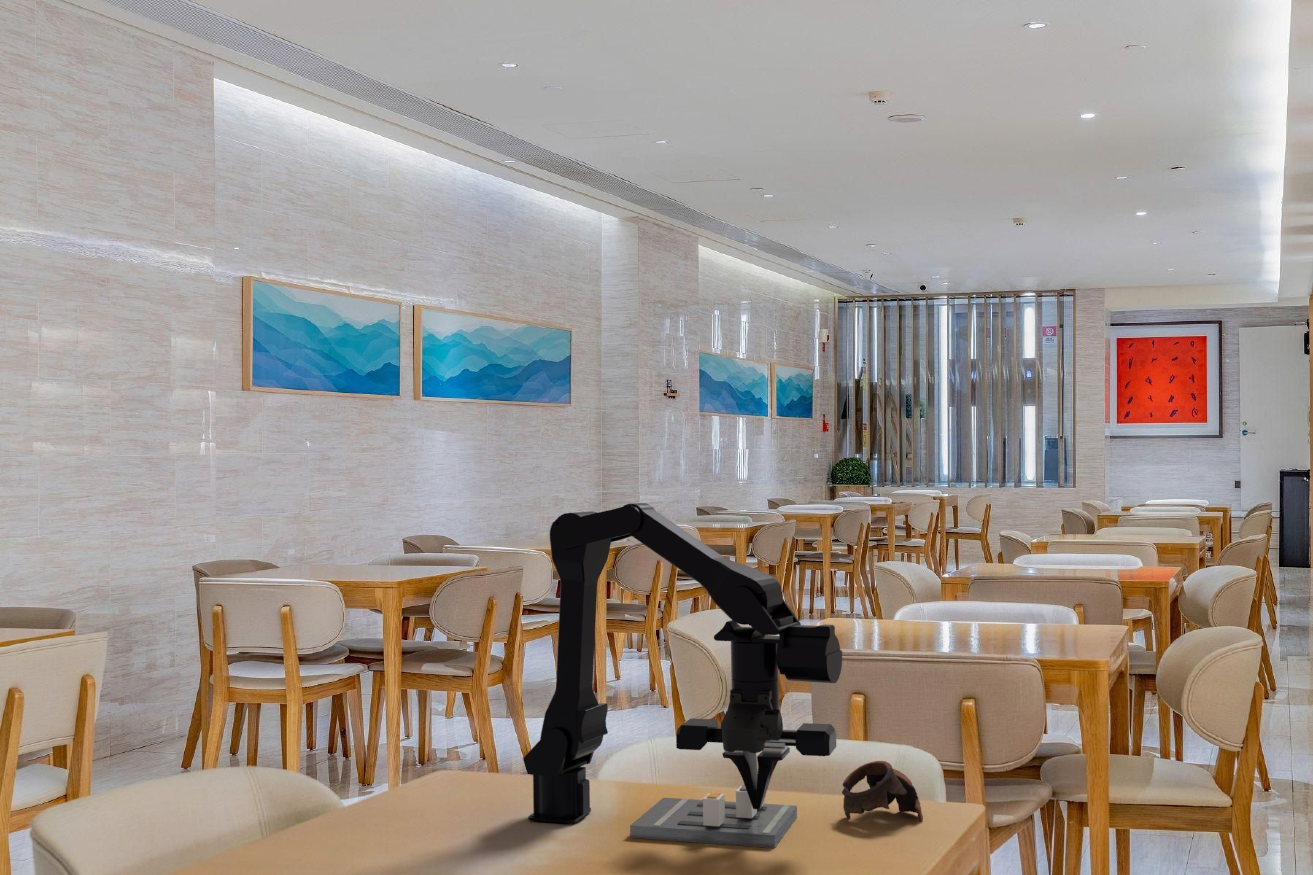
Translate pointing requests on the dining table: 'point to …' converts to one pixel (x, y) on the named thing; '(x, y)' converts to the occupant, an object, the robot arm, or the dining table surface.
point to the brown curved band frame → (880, 790)
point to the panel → (686, 825)
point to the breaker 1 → (713, 809)
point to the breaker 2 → (744, 804)
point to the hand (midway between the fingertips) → (757, 808)
